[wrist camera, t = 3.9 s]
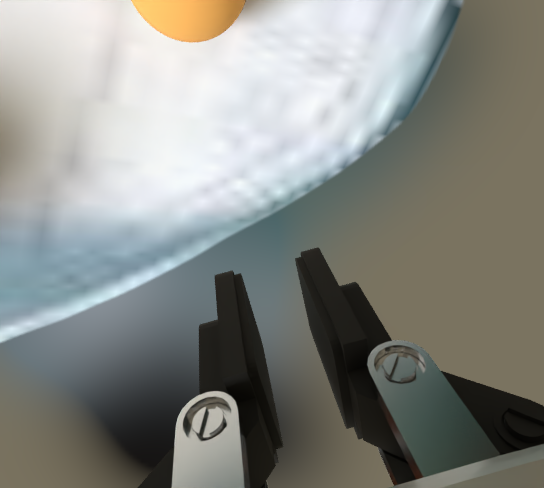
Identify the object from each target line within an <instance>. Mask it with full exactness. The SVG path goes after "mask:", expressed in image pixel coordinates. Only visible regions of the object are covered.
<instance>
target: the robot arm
mask: <svg viewBox="0 0 544 488" xmlns="http://www.w3.org/2000/svg"><path fill="white" fill-rule="evenodd" d="M295 261H296V266H297V271H298V275H299V280H300V284H301V289H302V294H303V298H304V303H305V308H306V312H307V317H308V321H309V326H310V330H311V333H312V336H313V339H314V341H315V344H316V347H317V350H318V352H319V355H320V358H321V361H322V363H323V366H324V369H325V371H326V374H327V377H328V380H329V383H330V385H331V388H332V391H333V393H334V396H335V399H336V402H337V404H338V407H339V410H340V413H341V416H342V418H343V421H344V424H345V426H346V428H347V429H348V428H351V427H354V429H355V432H356V434H357V437H358V439H362V438H363V440H364V441H366V442H368V443H370V444H372V445H374V446H377V447H378V450H379V453H380V455H381V458H382V460H383V463H384V465H385V467H386V469H387V472H388V474H389V476H390V478H391V481H392V483H393V485H394V486H393V487H389V488H544V406H542V405H540V404H538V403H536V402H533V401H531V400H528V399H525V398H522V397H519V396H516V395H513V394H510V393H507V392H504V391H501V390H498V389H494V388H492V387H488V386H486V385H483V384H480V383H476V382H473V381H470V380H467V379H464V378H461V377H458V376H455V375H452V374H449V373H446V372H443V371H440V370H439V368H438V367H437V365H436V364H435V363H434V361H433V360H432V358H431V357H430V356H429V354H428V353H427V352H426V351H425V350H424V349H423V348H421V347H419V346H417V345H416V344H414V343H410V342H407V341H397V340H395V341H392V340H391V338H390V336H389V335H388V333H387V332H386V330H385V328H384V326H383V325H382V323H381V321H380V320H379V318H378V316H377V315H376V313H375V311H374V310H373V308H372V306H371V305H370V303H369V301H368V300H367V298H366V297H365V295H364V293H363V292H362V290H361V288H360V287H359V285H358V284H357V283H356V282H353V283H349V284H346V285H342V286H339V285H338V283H337V281H336V279H335V277H334V275H333V274H332V272H331V270H330V268H329V266H328V264H327V262H326V260H325V259H324V257H323V255H322V253H321V251H320V249H319V248H314V249H310V250H307V251H303V252H301V257H299V258H295ZM215 286H216V301H217V315H218V320H214V321H211V322H208V323H204V324H201V325H200V326H199V375H200V376H199V381H200V382H199V383H200V384H199V385H200V395H199V396H197V397H195V398H194V399H192V400H191V401H190V402H188V404H187V405H186V406H185V407H184V408H183V409H182V411H181V413H180V415H179V416H178V419H177V424H176V432H175V445H174V446H173V447H172V449H171V450H170V451H169V452H168V453H167V455H166V456H165V457H164V458H163V459H162V460H161V461H160V463H159V464H158V465H157V466H156V467H155V468H154V470H153V471H152V472H151V473H150V474H149V475H148V477H147V478H146V479H145V480H144V481H143V482H142V484H141V485H140V486H139V487H138V488H268V484H267V481H266V480H267V478H268V477H269V475H270V474H271V472H272V470H273V469H274V467H275V466H276V465H275V463H278V457H277V452H276V449H278V448H282V447H283V442H282V437H281V432H280V428H279V423H278V418H277V413H276V408H275V403H274V398H273V393H272V388H271V383H270V378H269V374H268V369H267V364H266V359H265V354H264V349H263V345H262V341H261V337H260V334H259V331H258V327H257V325H256V321H255V318H254V314H253V311H252V308H251V305H250V301H249V298H248V295H247V292H246V288H245V285H244V282H243V278H242V275H241V274H236V275H234V272H233V271H229V272H225V273H222V274H218V275H215Z"/></svg>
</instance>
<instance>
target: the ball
mask: <svg viewBox="0 0 544 488" xmlns="http://www.w3.org/2000/svg"><path fill="white" fill-rule="evenodd" d="M131 1H132V3H133V5H134V6H135V8H136V9H137V11H138V12H139V13H140V15H141V16H142V17H143V18H144V19H145V20H146V21H147V22H148V23H149V24H150V25H151V26H152V27H153V28H155V29H156V30H157V31H159V32H160V33H162V34H164V35H166V36H167V37H170V38H172V39H175V40H179V41H183V42H202V41H206V40H209V39H212V38H214V37H216V36H218V35H220V34H222V33H223V32H224V31H226V30H227V29H228V28H229V27H230V26H231V25H232V24H233V23H234V21H235V20H236V19H237V17H238V16H239V14H240V13H241V11H242V8H243V6H244V4H245V1H246V0H131Z"/></svg>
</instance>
